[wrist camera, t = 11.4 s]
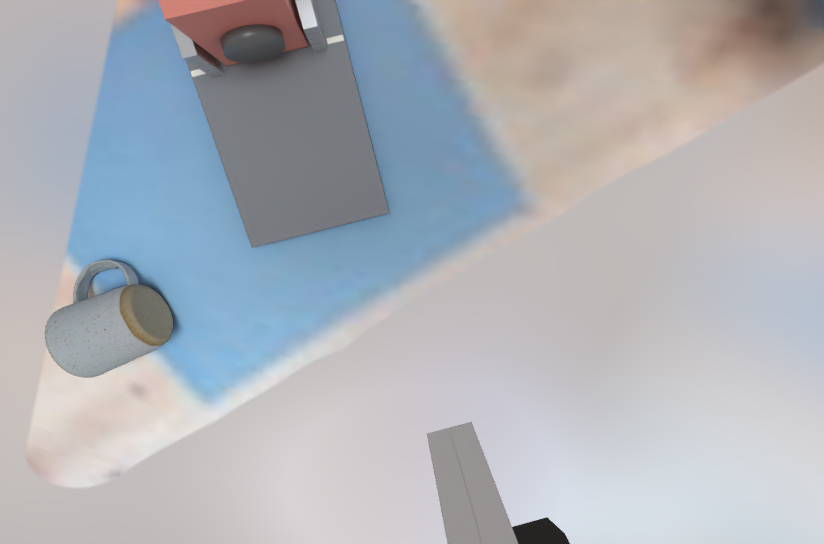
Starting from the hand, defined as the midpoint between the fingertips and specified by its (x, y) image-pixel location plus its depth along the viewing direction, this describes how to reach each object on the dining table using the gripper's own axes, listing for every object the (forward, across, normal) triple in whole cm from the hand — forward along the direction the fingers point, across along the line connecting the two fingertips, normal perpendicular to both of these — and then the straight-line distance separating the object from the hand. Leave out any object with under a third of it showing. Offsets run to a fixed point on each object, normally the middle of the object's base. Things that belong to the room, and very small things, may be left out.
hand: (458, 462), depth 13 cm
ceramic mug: (+33, -30, +3) cm, 45 cm away
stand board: (+32, -8, +19) cm, 38 cm away
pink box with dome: (+31, -7, +25) cm, 40 cm away
